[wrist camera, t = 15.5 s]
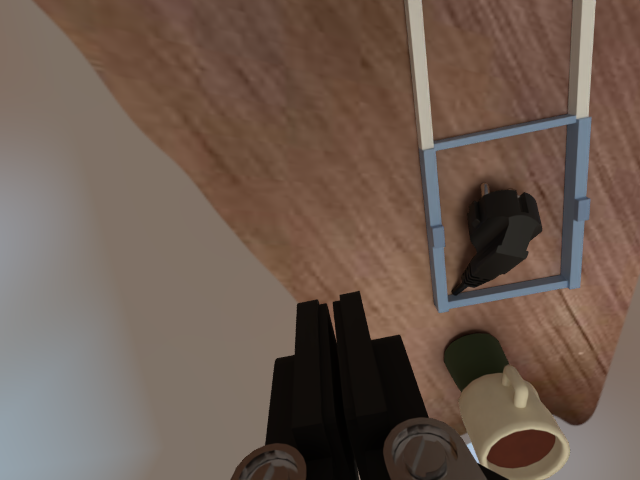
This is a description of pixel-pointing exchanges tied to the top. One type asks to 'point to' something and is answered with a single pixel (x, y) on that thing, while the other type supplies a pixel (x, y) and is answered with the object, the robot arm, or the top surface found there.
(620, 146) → the top surface
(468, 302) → the blue cream pronged frame
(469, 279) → the power plug
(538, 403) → the character mug
